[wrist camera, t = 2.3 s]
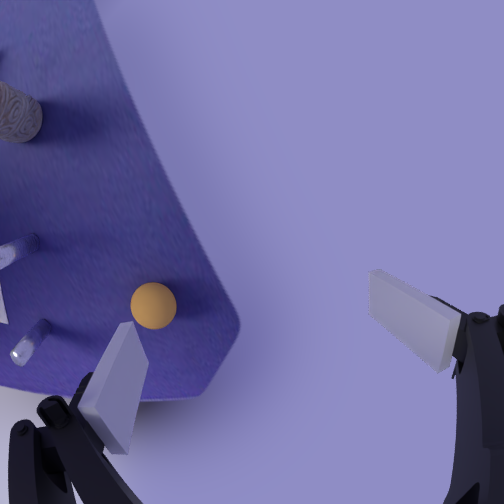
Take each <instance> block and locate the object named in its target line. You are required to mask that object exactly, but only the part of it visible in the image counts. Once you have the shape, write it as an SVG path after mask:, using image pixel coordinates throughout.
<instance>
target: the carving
mask: <svg viewBox="0 0 504 504" xmlns="http://www.w3.org/2000/svg"><path fill="white" fill-rule="evenodd" d="M41 124H42V109H41V106H40V104H39V103H38V102H37V100H35V99H34V98H32V96H30V95H28V96H26V94H25V93H23V92H21V91H20V90H17V89H15V88H13V87H11V86H10V85H8V84H7V83H5V82H2V81H0V139H1V140H4V141H7V142H13V143H23V142H26V141H29V140H31V139H32V138H33V137H34V136H35V135H36V134H37V133H38V131H39V130H40V128H41Z"/></svg>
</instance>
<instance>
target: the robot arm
mask: <svg viewBox="0 0 504 504" xmlns="http://www.w3.org/2000/svg"><path fill="white" fill-rule="evenodd" d="M369 315H370V316H371V317H372V318H374V319H375V320H376V321H377V322H378V323H380V324H381V325H382V326H383V327H384V328H386V329H387V330H388V331H389V332H391V334H393V335H394V336H395V337H396V338H397V339H399V340H400V341H401V342H402V343H403V344H404V345H406V346H407V347H408V348H409V349H410V350H412V351H413V352H414V353H415V354H416V355H417V356H418V357H420V358H421V359H422V360H423V361H424V362H425V363H427V364H428V365H429V366H430V367H431V368H432V369H433V370H435V371H436V372H437V373H439V372H441V371H443V370H445V369H446V368H448V367H449V366H450V362H451V358H452V356H453V357H455V358H456V359H457V361H456V365H455V368H454V371H453V375H452V379H454V376H455V375H456V386H457V424H456V443H455V454H454V463H453V471H452V478H451V484H450V489H449V492H448V494H447V496H446V498H445V500H444V503H443V504H504V304H503V305H501V306H500V307H499V312H498V315H497V316H494V317H490V316H489V315H487V314H485V313H482V312H472V313H470V314H469V315H468V314H466V313H464V312H462V311H461V310H459V309H457V308H455V307H454V306H452V305H451V306H450V304H448V303H446V302H445V301H443V300H441V299H439V298H437V297H433V296H429V295H427V294H425V293H423V292H421V291H420V290H418V289H416V288H414V287H412V286H411V285H409V284H407V283H405V282H403V281H401V280H399V279H397V278H395V277H393V276H392V275H390V274H388V273H386V272H384V271H382V270H380V269H377V270H374V271H370V272H369ZM148 365H149V362H148V360H147V357H146V355H145V352H144V350H143V347H142V345H141V342H140V340H139V337H138V334H137V331H136V329H135V326H134V323H133V321H132V322H125V323H120V324H119V326H118V328H117V330H116V332H115V333H114V335H113V337H112V339H111V341H110V343H109V344H108V346H107V348H106V350H105V352H104V354H103V356H102V358H101V360H100V362H99V364H98V365H97V367H96V369H95V371H94V372H89V373H88V374H87V375H86V376H85V377H84V378H83V379H82V381H81V383H80V385H79V388H77V390H76V394H74V396H73V398H72V400H71V402H70V404H69V406H68V405H67V403H66V402H65V400H64V399H63V398H62V397H61V396H58V395H55V396H50V397H47V398H45V399H44V400H42V402H41V403H40V404H39V405H38V407H37V413H38V415H39V417H40V418H41V419H42V421H43V422H44V423H45V425H46V426H45V427H39V428H36V427H35V425H34V424H33V423H32V422H31V421H30V420H27V419H26V420H21V421H18V422H17V423H15V424H14V426H13V427H12V429H11V433H10V443H9V461H8V489H9V504H76V500H75V496H74V492H73V488H72V483H73V485H74V487H75V489H76V491H77V493H78V495H79V496H80V498H81V500H82V501H83V503H84V504H143V503H142V502H141V501H140V500H139V499H138V497H137V496H136V495H135V494H134V493H133V491H132V490H131V489H130V488H129V487H128V486H127V484H126V483H125V482H124V480H123V479H122V478H121V477H120V475H119V474H118V472H117V471H116V470H115V469H114V467H113V466H112V464H111V463H110V462H109V460H108V459H107V457H106V456H105V455H104V454H103V450H104V446H106V448H107V449H108V450H109V451H110V453H111V454H126V455H127V454H128V451H129V446H130V441H131V436H132V432H133V427H134V422H135V418H136V413H137V409H138V405H139V401H140V396H141V392H142V388H143V384H144V380H145V376H146V373H147V369H148ZM71 482H72V483H71Z"/></svg>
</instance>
